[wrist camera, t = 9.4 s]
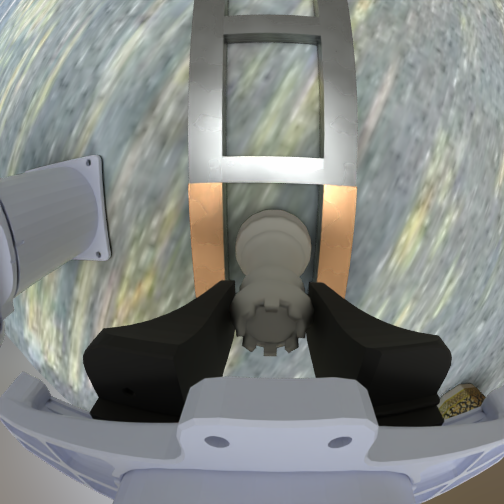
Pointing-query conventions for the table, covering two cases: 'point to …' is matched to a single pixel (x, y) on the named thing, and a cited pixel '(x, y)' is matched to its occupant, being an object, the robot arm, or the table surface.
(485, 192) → the table surface
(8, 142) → the table surface
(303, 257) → the rook chess piece
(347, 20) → the hole rail
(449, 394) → the ceramic cup
